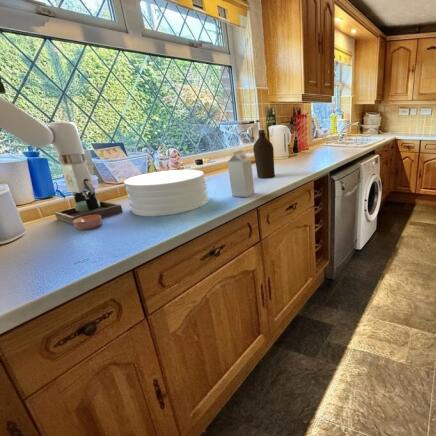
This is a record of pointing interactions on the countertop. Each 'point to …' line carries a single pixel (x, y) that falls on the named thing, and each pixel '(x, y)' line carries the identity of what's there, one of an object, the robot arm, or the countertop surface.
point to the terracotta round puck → (87, 222)
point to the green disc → (84, 206)
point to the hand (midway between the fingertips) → (88, 207)
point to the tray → (103, 210)
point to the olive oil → (264, 156)
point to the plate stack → (166, 192)
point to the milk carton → (241, 175)
